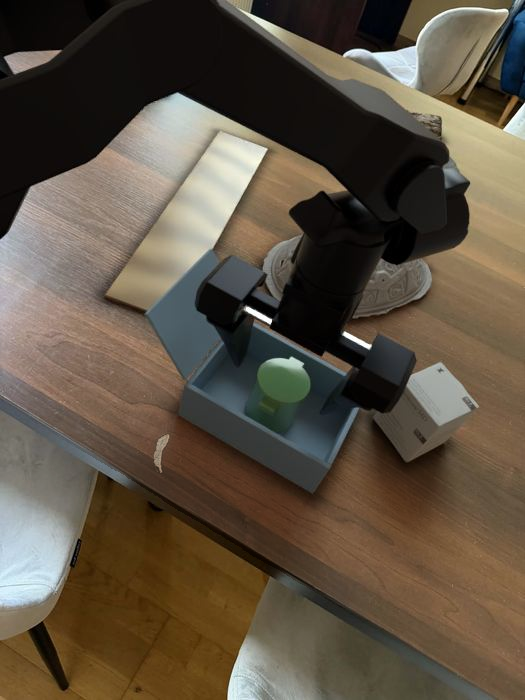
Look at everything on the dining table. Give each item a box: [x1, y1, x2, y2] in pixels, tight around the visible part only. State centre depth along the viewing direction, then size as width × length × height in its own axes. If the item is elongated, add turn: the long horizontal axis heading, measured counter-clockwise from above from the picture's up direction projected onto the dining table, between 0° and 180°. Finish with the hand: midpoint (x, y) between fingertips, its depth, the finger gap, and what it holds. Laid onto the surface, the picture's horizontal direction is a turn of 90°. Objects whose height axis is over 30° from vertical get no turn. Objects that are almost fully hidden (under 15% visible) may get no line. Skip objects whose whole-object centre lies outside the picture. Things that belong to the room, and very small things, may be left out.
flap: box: [144, 249, 221, 381], centre depth 54 cm, size 7×11×1 cm
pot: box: [245, 356, 310, 433], centre depth 56 cm, size 7×5×6 cm
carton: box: [177, 322, 360, 494], centre depth 57 cm, size 15×11×5 cm
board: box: [104, 130, 268, 313], centre depth 76 cm, size 40×8×1 cm, turn 164°
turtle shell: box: [262, 233, 433, 319], centre depth 74 cm, size 16×25×7 cm, turn 115°
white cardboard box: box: [372, 361, 480, 463], centre depth 59 cm, size 6×6×7 cm
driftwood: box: [406, 109, 443, 140], centre depth 103 cm, size 25×10×5 cm
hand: (280, 387), depth 55 cm, fingers open, 9 cm apart
